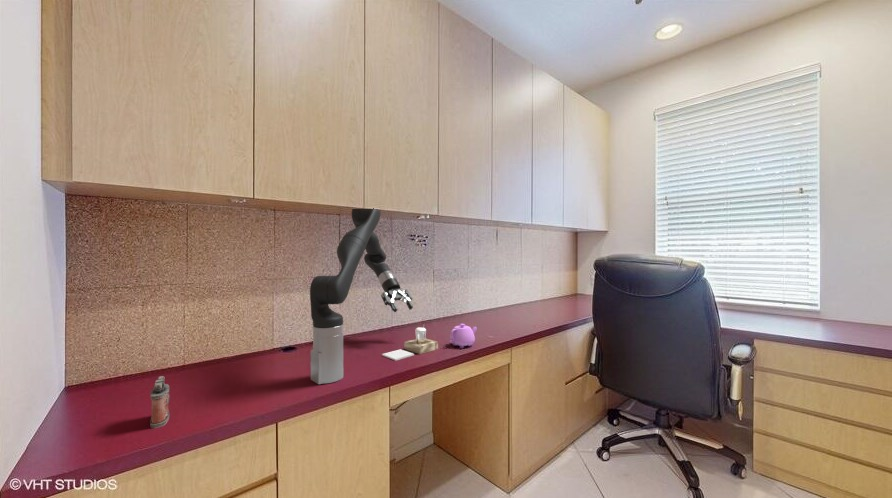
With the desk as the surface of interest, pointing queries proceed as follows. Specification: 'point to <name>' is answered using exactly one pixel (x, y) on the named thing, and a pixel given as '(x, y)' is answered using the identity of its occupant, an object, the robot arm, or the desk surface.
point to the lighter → (159, 403)
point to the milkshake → (420, 335)
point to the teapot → (463, 335)
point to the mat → (397, 354)
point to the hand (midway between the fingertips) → (404, 309)
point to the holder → (421, 346)
